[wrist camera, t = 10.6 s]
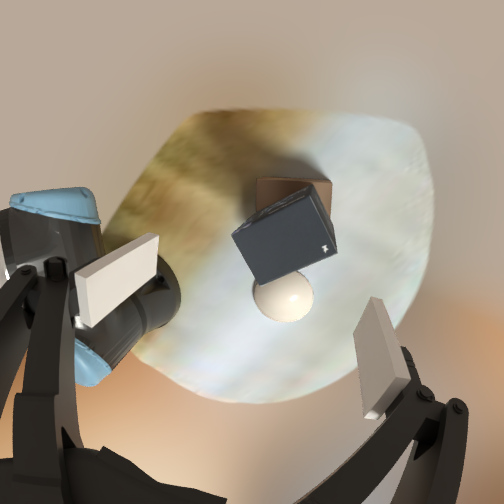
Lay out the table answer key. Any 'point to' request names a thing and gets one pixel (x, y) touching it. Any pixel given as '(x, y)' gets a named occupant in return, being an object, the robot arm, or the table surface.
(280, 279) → the coaster
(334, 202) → the table surface
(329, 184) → the block
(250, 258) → the box
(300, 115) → the table surface
